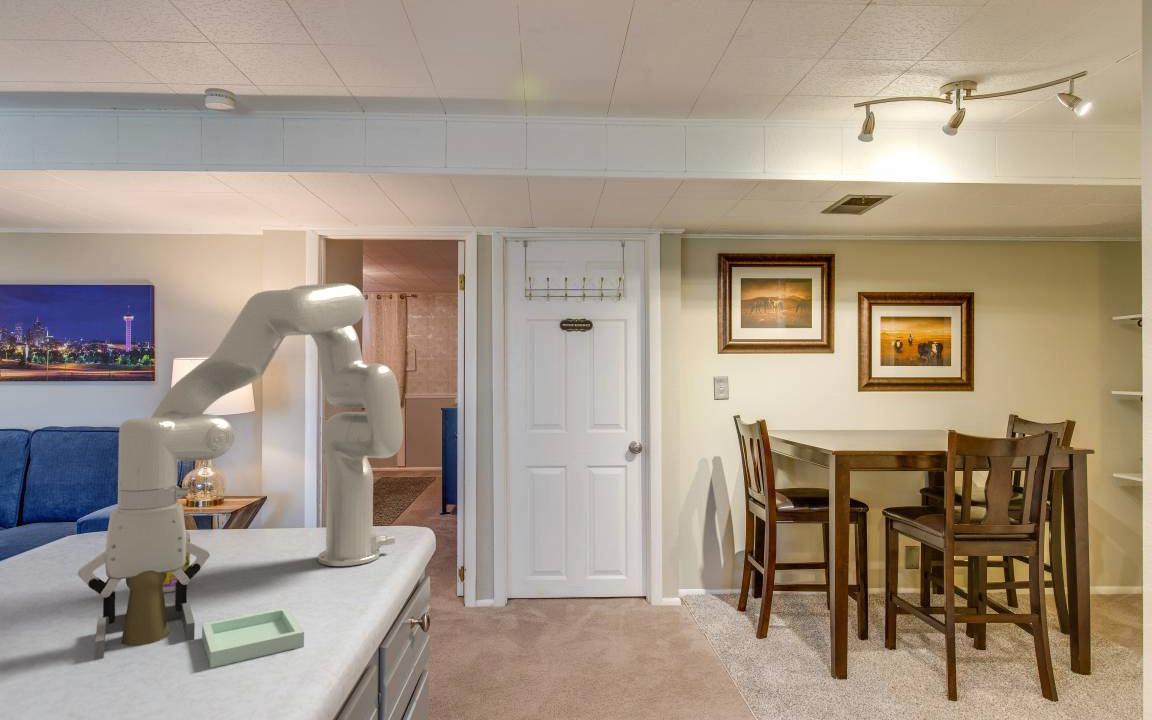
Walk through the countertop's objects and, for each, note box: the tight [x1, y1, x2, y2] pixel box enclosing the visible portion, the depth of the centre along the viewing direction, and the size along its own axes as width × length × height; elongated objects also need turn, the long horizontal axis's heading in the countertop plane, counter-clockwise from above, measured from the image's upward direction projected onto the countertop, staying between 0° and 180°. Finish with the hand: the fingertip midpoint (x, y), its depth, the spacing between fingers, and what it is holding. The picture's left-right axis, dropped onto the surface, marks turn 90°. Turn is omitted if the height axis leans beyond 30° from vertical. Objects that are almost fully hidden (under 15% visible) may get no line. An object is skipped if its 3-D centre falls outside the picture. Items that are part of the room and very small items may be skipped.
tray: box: [201, 606, 305, 669], centre depth 95 cm, size 12×12×2 cm
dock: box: [94, 600, 196, 660], centre depth 97 cm, size 12×11×2 cm
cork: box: [120, 571, 170, 647], centre depth 97 cm, size 6×6×11 cm
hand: (145, 614), depth 97 cm, fingers open, 7 cm apart
